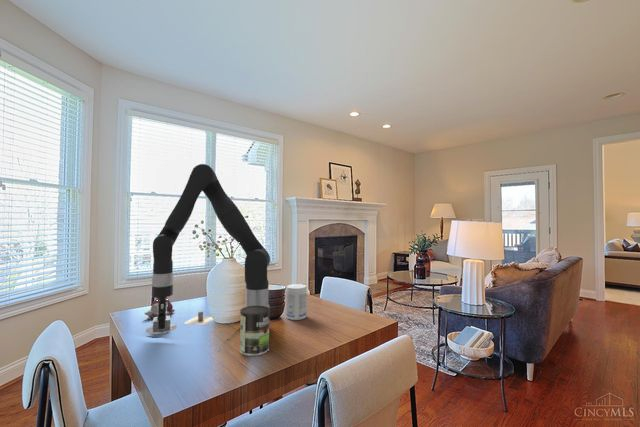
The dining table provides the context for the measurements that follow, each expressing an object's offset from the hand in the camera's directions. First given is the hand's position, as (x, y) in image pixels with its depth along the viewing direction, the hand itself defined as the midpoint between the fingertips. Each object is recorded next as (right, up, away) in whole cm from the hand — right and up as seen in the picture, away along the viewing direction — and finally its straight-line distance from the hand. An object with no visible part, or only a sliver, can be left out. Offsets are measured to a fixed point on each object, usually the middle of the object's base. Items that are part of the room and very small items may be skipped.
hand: (161, 325), depth 122 cm
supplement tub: (+52, -4, +21) cm, 57 cm away
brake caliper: (-10, -3, +18) cm, 21 cm away
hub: (0, -3, 0) cm, 3 cm away
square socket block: (0, -1, 0) cm, 1 cm away
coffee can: (+40, -3, -15) cm, 43 cm away
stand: (+11, -3, +11) cm, 16 cm away
